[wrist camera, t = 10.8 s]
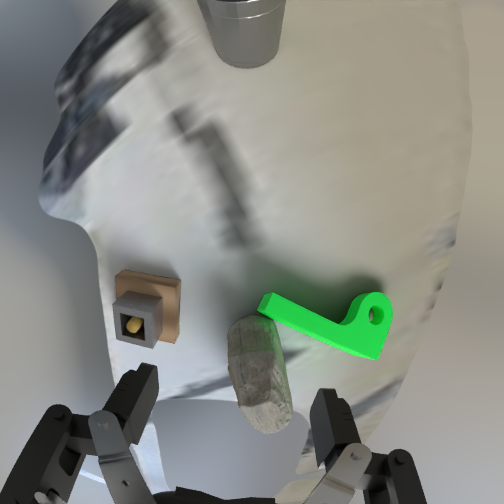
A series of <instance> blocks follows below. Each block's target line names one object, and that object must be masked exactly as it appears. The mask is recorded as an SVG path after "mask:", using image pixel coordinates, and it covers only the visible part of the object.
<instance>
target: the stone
mask: <svg viewBox="0 0 504 504" xmlns="http://www.w3.org/2000/svg"><path fill="white" fill-rule="evenodd" d="M227 338H228V363H229V365H228V370H229V374H230V377H231V380H232V382H233V385H234V386H233V388H234V390H235V392H236V396H237V399H238V406H239V409H240V410H241V412H242V413H243V415H244V416H245V418H246V419H247V420H248V422H249V423H250V424H251V425H252V426H253V427H255V428H256V429H258V430H259V431H261V432H262V433H265V434H266V433H274V432H277V431H280V430H282V429H283V428H284V427H286V426H287V424H288V423H289V421H290V419H291V417H292V414H293V406H292V398H291V393H290V388H289V384H288V378H287V373H286V367H285V362H284V357H283V353H282V348H281V343H280V339H279V335H278V331H277V328H276V325H275V323H274V322H273V321H272V320H271V319H268V318H266V317H262V316H258V315H251V316H247V317H244V318H242V319H240V320H238V321H237V322H235V323H234V324H233V325H232V326H231V327H230V329H229V331H228V333H227Z"/></svg>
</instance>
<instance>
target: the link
mask: <svg viewBox="0 0 504 504" xmlns="http://www.w3.org/2000/svg"><path fill="white" fill-rule="evenodd" d="M112 305H113V315H114V324H115V332H116V339H117V340H121V341H124V342H128V343H132V344H136V345H139V346H143V347H148V348H152V349H153V348H154V346H155V344H156V342H157V341H158V339H159V337H160V335H161V334H162V332H163V297H158V296H153V295H148V294H143V293H138V292H133V291H129V290H127V291H126V292H125V293H124V294H123V295H122V296H121V297H119V298H118V299H117V300H116V301H115V302H114V303H113V304H112ZM133 316H135V317H139V318H144V323H143V324H142V325H141V327H140V328H139V329H138V331H137V332H136V333H132V332H130V331H129V330H128V329H127V327H126V325H127V323H128V322H129V320H130V319H131V318H132V317H133Z"/></svg>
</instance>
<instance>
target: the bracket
mask: <svg viewBox="0 0 504 504" xmlns="http://www.w3.org/2000/svg"><path fill="white" fill-rule="evenodd" d="M370 308H372V310H373V319H372V321H371V322H370V320H369V310H370ZM257 311H258V312H260V313H261V314H263V315H265V316H267V317H269V318H271V319H273V320H275V321H277V322H280V323H282V324H284V325H286V326H288V327H290V328H293V329H295V330H297V331H299V332H301V333H304V334H306V335H308V336H310V337H313V338H315V339H317V340H319V341H322V342H324V343H326V344H329V345H331V346H333V347H336V348H338V349H340V350H343V351H345V352H347V353H350V354H352V355H356V356H360V357H364V358H369V359H373V360H378V358H379V355H380V353H381V350H382V347H383V345H384V342H385V339H386V336H387V334H388V331H389V328H390V325H391V322H392V317H393V310H392V305H391V302H390V300H389V299H388V298H387V296H386V295H384V294H383V293H380V292H372V293H363V294H360V295H358V296H357V297H356V298H355V299H354V300H353V301H352V303H351V305H350V308H349V310H348V313H347V315H346V317H345V319H344V320H343V321H342V322H340V323H339V324H336V323H334V322H332V321H330V320H328V319H326V318H324V317H322V316H320V315H318V314H316V313H314V312H312V311H309V310H307V309H305V308H303V307H301V306H299V305H297V304H295V303H293V302H291V301H289V300H287V299H285V298H283V297H281V296H279V295H277V294H275V293H267V294H264V296H263V298H262V300H261V303H260V305H259V307H258V309H257Z"/></svg>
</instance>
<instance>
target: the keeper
mask: <svg viewBox="0 0 504 504" xmlns="http://www.w3.org/2000/svg"><path fill="white" fill-rule="evenodd" d="M115 282H116V298H117V299H118V298H119V297H121V296H122V295H123V294H124V293H125V292H126V291H127V290H129V291H133V292H138V293H143V294H148V295H153V296H158V297H163V332H162V334H161V335H160V337H159V339H158V340H160V341H164V342H169V343H173V344H175V342H176V340H177V338H178V335H179V319H180V289H181V280H177V279H171V278H166V277H160V276H155V275H149V274H144V273H138V272H133V271H128V270H123V271H121V272H120V273H119V274H117V275H116V276H115ZM143 323H144V318H139V317H135V316H133V317H132V318H131V319H130V320H129V322H128V323H127V325H126V327H127V329H128V330H129V331H130V332H132V333H136V332H137V331H138V329H139V328H140V327H141V325H142V324H143Z"/></svg>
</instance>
